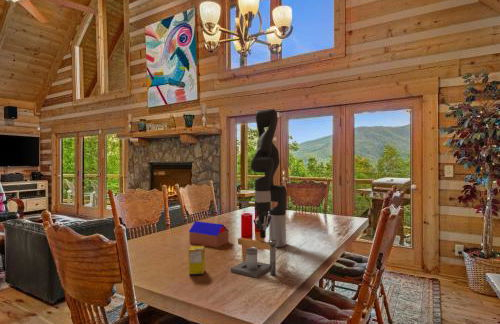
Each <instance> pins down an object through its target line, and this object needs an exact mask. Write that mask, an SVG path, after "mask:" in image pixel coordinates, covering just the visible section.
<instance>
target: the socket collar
mask: <svg viewBox="0 0 500 324" xmlns="http://www.w3.org/2000/svg"><path fill="white" fill-rule="evenodd" d="M269 271H270V263H266V262H260V261H257V269H256V270H249V269H246V260H244V261H242V262H240V263H239V264H237V265H235V266H232V267H230V272H231V273H235V274H238V275H243V276H248V277H252V278H256V279H257V278H259V277H261V276H262V275H263V274H265V273H266V272H269Z"/></svg>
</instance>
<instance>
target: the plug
mask: <svg viewBox="0 0 500 324" xmlns="http://www.w3.org/2000/svg"><path fill="white" fill-rule="evenodd" d="M245 261H246V268H245V269H249V270H256V269H258V268H257V262H258V248H256V247H246V248H245Z"/></svg>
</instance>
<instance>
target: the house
mask: <svg viewBox="0 0 500 324" xmlns="http://www.w3.org/2000/svg"><path fill="white" fill-rule="evenodd" d="M188 233H189V244H194V245H198V246H204V247H205V246H206V247H211V248H219V247H221V246H224V245H226V244H228V243H229V230H228V228H227V227H226V226H225V225H224V224H220V223H213V222H204V221H196V220H195V221H194V223H193V224H192V226H191V227H190V229H189V230H188Z"/></svg>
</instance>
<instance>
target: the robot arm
mask: <svg viewBox="0 0 500 324" xmlns="http://www.w3.org/2000/svg"><path fill="white" fill-rule="evenodd" d="M278 119H279V118H278V112H277V110H276V109H274V108H269V109H261V110H257V111H256V112H255V121H256V129H257V133H258V141H257V144H256V145H257V147H256V151H255V153H254V156H253V157H252V159H251V161H250V169H251V170H252V172H254V173H263V174H264V176H261V177H257V178H255V179H254V211H255V212H256V216H255V217H256V219H253V223H254V225H255V227H256V229H257V230H259V239H260V238H261V239H265V238H266V237H267V236H266V235H267V233H266V230H267V229H268V232H269V233H268V241H269V240H277V244H276V248H283V247H285V246H286V243H287V225H286V224H287V223H286V221H287V219H286V218H287V217H286V216H287V215H286V214H287V213H286V211H287V199H288V198H287V197H288V191H287V188H286V186H285V185H281V184H280V185H277V184H274V178H275V177H274V176H275V173H276V171H277V170H278V167H279V165H280V154H279V149H278V148H277V146H276V145H275V144H274V142H273V140H274V136H275V134H276V130H277V126H278V121H279V120H278ZM266 128H267V129H266ZM265 129H266V130H265ZM272 202H273V203H275V202H276V203H277V205H276V206H274V207H272V205H271V203H272Z"/></svg>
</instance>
